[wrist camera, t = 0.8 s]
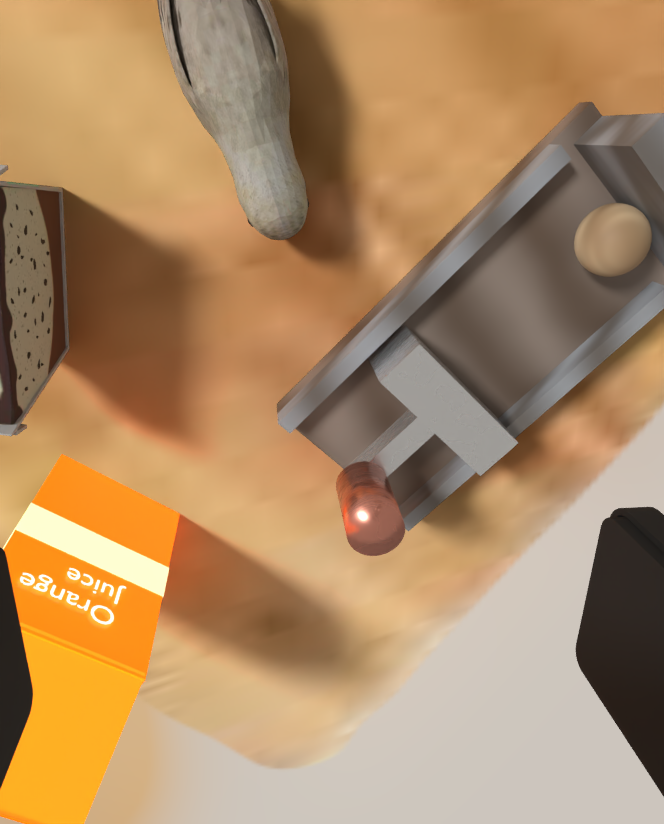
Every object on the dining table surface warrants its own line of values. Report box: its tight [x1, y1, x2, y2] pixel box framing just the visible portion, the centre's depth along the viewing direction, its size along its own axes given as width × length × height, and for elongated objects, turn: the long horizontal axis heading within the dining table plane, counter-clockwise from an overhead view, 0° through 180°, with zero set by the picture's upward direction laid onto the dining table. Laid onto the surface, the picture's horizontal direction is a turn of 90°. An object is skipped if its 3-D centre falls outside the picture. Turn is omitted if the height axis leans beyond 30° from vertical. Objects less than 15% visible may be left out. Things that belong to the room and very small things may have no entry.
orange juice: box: [0, 454, 180, 824], centre depth 34 cm, size 8×9×20 cm
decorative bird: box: [157, 0, 309, 240], centre depth 30 cm, size 5×16×8 cm, turn 17°
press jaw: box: [336, 324, 518, 556], centre depth 37 cm, size 10×9×8 cm
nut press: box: [277, 102, 664, 531], centre depth 37 cm, size 25×12×8 cm, turn 135°
